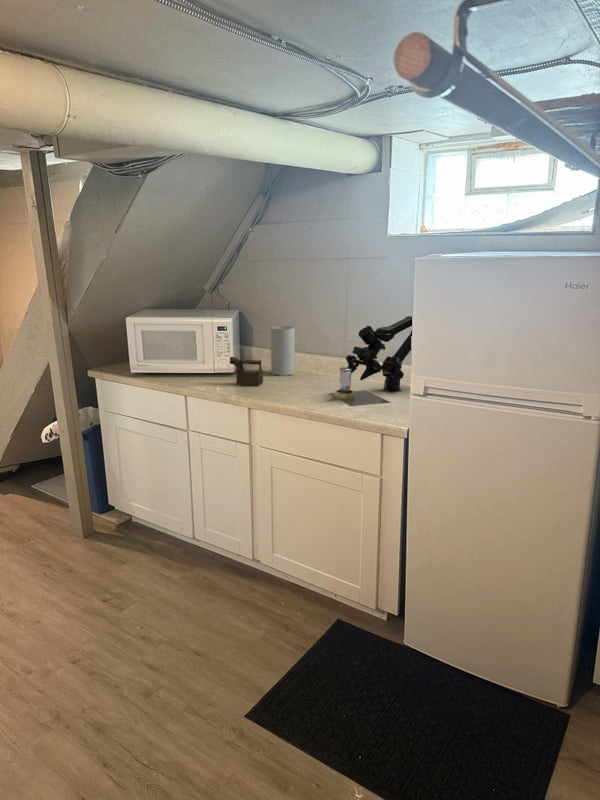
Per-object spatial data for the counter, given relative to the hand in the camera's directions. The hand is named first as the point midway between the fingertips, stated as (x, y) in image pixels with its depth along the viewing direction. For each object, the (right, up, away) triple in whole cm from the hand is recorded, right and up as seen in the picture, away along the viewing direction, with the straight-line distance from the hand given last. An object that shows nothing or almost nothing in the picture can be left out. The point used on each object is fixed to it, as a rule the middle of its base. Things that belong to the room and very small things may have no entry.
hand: (353, 378), depth 247 cm
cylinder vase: (-33, +4, +52) cm, 62 cm away
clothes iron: (-50, -2, +27) cm, 57 cm away
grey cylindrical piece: (-4, -9, -1) cm, 9 cm away
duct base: (+2, -10, -2) cm, 10 cm away
